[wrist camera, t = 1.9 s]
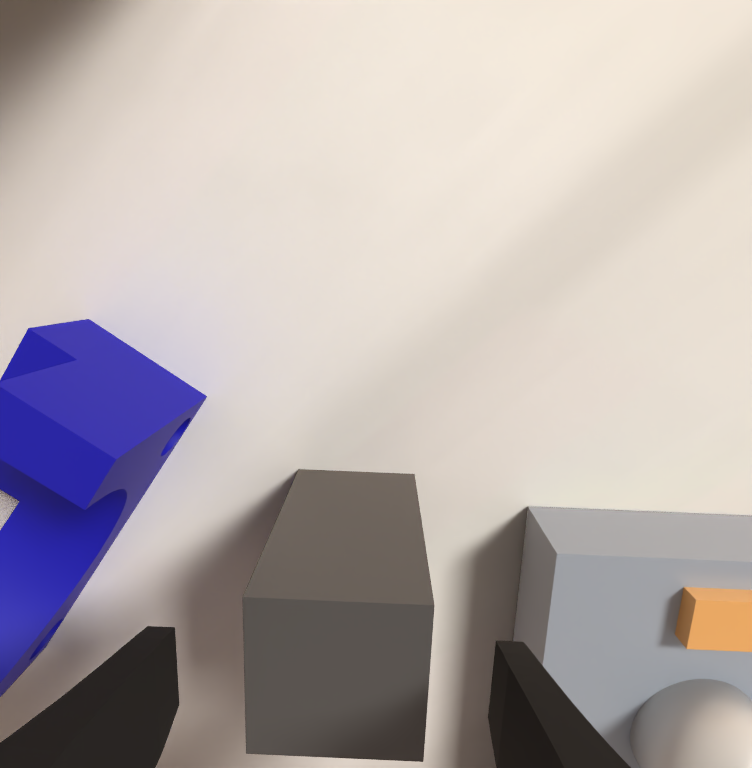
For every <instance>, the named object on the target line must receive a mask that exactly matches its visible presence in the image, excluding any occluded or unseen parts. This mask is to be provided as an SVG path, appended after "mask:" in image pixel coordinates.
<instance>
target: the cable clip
mask: <svg viewBox="0 0 752 768" xmlns="http://www.w3.org/2000/svg"><path fill="white" fill-rule="evenodd" d="M206 397H207V396H205V395H204V394H202V393H201V392H199V391H198V390H196V389H195V388H193V387H192V386H190V385H189V384H187V383H185V382H184V381H182V380H181V379H179V378H178V377H176V376H175V375H173V374H172V373H170V372H169V371H167V370H166V369H164V368H163V367H161V366H159V365H158V364H156V363H155V362H153V361H152V360H150V359H149V358H147V357H146V356H144V355H143V354H141V353H140V352H138V351H137V350H135V349H134V348H132V347H130V346H129V345H127V344H126V343H124V342H123V341H121V340H120V339H118V338H117V337H115V336H114V335H112V334H111V333H109V332H108V331H106V330H104V329H103V328H101V327H100V326H98V325H97V324H95V323H94V322H92V321H91V320H89V319H86V320H80V321H73V322H67V323H60V324H53V325H47V326H40V327H34V328H28V330H27V332H26V334H25V336H24V337H23V339H22V341H21V343H20V345H19V347H18V349H17V350H16V352H15V354H14V356H13V358H12V360H11V361H10V363H9V365H8V367H7V369H6V371H5V372H4V374H3V376H2V378H1V380H0V490H2V491H4V492H5V493H7V494H9V495H10V496H12V497H14V498H15V499H17V500H19V503H18V505H17V506H16V508H15V509H14V511H13V512H12V514H11V516H10V517H9V519H8V520H7V522H6V523H5V524H4V526H3V527H2V529H1V530H0V697H1V696H2V695H3V694H4V693H5V691H6V690H7V689H8V688H9V687H10V686H11V685H12V684H13V683H14V682H15V680H16V679H17V678H18V677H19V676H20V675H21V674H22V673H23V672H24V670H25V669H26V668H27V667H28V666H29V665H30V664H31V663H32V662H33V661H34V659H35V658H36V657H37V656H38V655H39V654H40V653H41V652H42V651H43V650H44V648H45V647H46V646H47V644H48V643H49V641H50V640H51V638H52V636H53V635H54V633H55V632H56V630H57V629H58V627H59V626H60V624H61V622H62V621H63V619H64V618H65V616H66V615H67V613H68V612H69V610H70V609H71V607H72V605H73V604H74V602H75V601H76V599H77V598H78V596H79V595H80V593H81V591H82V590H83V588H84V587H85V585H86V584H87V582H88V581H89V579H90V577H91V576H92V574H93V573H94V571H95V570H96V568H97V567H98V565H99V564H100V562H101V560H102V559H103V557H104V556H105V554H106V553H107V551H108V550H109V548H110V546H111V545H112V543H113V542H114V540H115V539H116V537H117V536H118V534H119V532H120V531H121V529H122V528H123V526H124V525H125V523H126V522H127V520H128V519H129V517H130V515H131V514H132V512H133V511H134V509H135V508H136V506H137V505H138V503H139V501H140V500H141V498H142V497H143V495H144V494H145V492H146V491H147V489H148V487H149V486H150V484H151V483H152V481H153V480H154V478H155V477H156V475H157V473H158V472H159V470H160V469H161V467H162V466H163V464H164V463H165V461H166V460H167V458H168V456H169V455H170V453H171V452H172V450H173V449H174V447H175V446H176V444H177V442H178V441H179V439H180V438H181V436H182V435H183V433H184V432H185V430H186V428H187V427H188V425H189V424H190V422H191V421H192V419H193V418H194V416H195V415H196V413H197V411H198V410H199V408H200V407H201V405H202V404H203V402H204V401H205V399H206Z"/></svg>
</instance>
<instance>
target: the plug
mask: <svg viewBox="0 0 752 768" xmlns="http://www.w3.org/2000/svg"><path fill="white" fill-rule="evenodd" d="M433 617H434V600H433V593H432V587H431V580H430V574H429V567H428V561H427V554H426V547H425V541H424V534H423V528H422V521H421V515H420V508H419V501H418V495H417V488H416V482H415V475H414V474H398V473H374V472H350V471H326V470H302V469H299V470H298V472H297V474H296V476H295V479H294V481H293V483H292V486H291V488H290V490H289V492H288V495H287V497H286V499H285V502H284V504H283V506H282V508H281V511H280V513H279V515H278V518H277V520H276V522H275V524H274V527H273V529H272V531H271V534H270V536H269V538H268V540H267V543H266V545H265V547H264V550H263V552H262V554H261V556H260V559H259V561H258V563H257V566H256V568H255V570H254V572H253V575H252V577H251V579H250V582H249V584H248V586H247V588H246V591H245V593H244V595H243V631H244V676H245V721H246V754H266V755H288V756H310V757H332V758H354V759H376V760H398V761H420V762H423V757H424V743H425V729H426V715H427V701H428V687H429V673H430V659H431V645H432V631H433Z"/></svg>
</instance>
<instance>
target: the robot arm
mask: <svg viewBox="0 0 752 768" xmlns="http://www.w3.org/2000/svg"><path fill="white" fill-rule="evenodd" d="M178 706H179V692H178V675H177V657H176V639H175V627H152V626H148V627H146V628H145V629H144V630H143V631H141V632H140V633H139V634H138V635H136V636H135V637H134V638H133V639H132V640H130V641H129V642H128V643H127V644H126V645H124V646H123V647H122V648H121V649H120V650H118V651H117V652H116V653H115V654H114V655H112V656H111V657H110V658H109V659H108V660H106V661H105V662H104V663H103V664H102V665H100V666H99V667H98V668H97V669H96V670H94V671H93V672H92V673H91V674H89V675H88V676H87V677H86V678H84V679H83V680H82V681H81V682H80V683H78V684H77V685H76V686H75V687H73V688H72V689H71V690H70V691H68V692H67V693H66V694H65V695H63V696H62V697H61V698H60V699H58V700H57V701H56V702H54V703H53V704H52V705H50V706H49V707H48V708H46V709H45V710H44V711H42V712H41V713H40V714H38V715H37V716H36V717H34V718H33V719H32V720H30V721H29V722H28V723H26V724H25V725H24V726H22V727H21V728H20V729H18V730H17V731H16V732H15V733H13V734H12V735H10V736H9V737H8V738H6V739H5V740H3V741H2V742H1V743H0V768H155V767H156V765H157V763H158V760H159V758H160V756H161V754H162V751H163V748H164V746H165V743H166V740H167V738H168V735H169V732H170V729H171V726H172V724H173V721H174V718H175V715H176V712H177V709H178ZM488 719H489V725H490V731H491V738H492V744H493V750H494V755H495V761H496V766H497V768H631V767H630V766H629V765H628V764H627V763H626V762H625V761H624V760H623V759H622V758H621V757H620V755H619V754H618V753H617V752H616V751H615V750H614V749H613V748H612V747H611V746H610V745H609V744H608V743H607V741H606V740H605V739H604V738H603V737H602V736H601V735H600V734H599V733H598V731H597V730H596V729H595V728H594V727H593V726H592V725H591V723H590V722H589V721H588V720H587V719H586V718H585V716H584V715H583V714H582V713H581V712H580V711H579V709H578V708H577V707H576V706H575V705H574V704H573V702H572V701H571V700H570V699H569V698H568V696H567V695H566V694H565V693H564V692H563V690H562V689H561V688H560V687H559V685H558V684H557V683H556V682H555V680H554V679H553V678H552V677H551V675H550V674H549V673H548V672H547V670H546V669H545V668H544V667H543V665H542V664H541V663H540V662H539V660H538V659H537V658H536V656H535V655H534V654H533V653H532V651H531V650H530V649H529V648H528V646H527V645H526V644H525V643H524V642H518V641H496V647H495V656H494V666H493V676H492V685H491V695H490V705H489V714H488Z"/></svg>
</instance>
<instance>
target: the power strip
mask: <svg viewBox="0 0 752 768" xmlns="http://www.w3.org/2000/svg"><path fill="white" fill-rule="evenodd" d="M513 641H518V642H524V643H525V644H526V645H527V646H528V648H529V649H530V650H531V651H532V653H533V654H534V655H535V656H536V658H537V659H538V660H539V662H540V663H541V664H542V665H543V667H544V668H545V669H546V670H547V672H548V673H549V674H550V675H551V677H552V678H553V679H554V680H555V682H556V683H557V684H558V685H559V687H560V688H561V689H562V690H563V692H564V693H565V694H566V695H567V696H568V698H569V699H570V700H571V701H572V702H573V704H574V705H575V706H576V707H577V708H578V709H579V711H580V712H581V713H582V714H583V715H584V716H585V718H586V719H587V720H588V721H589V722H590V723H591V725H592V726H593V727H594V728H595V729H596V730H597V731H598V733H599V734H600V735H601V736H602V737H603V738H604V739H605V740H606V741H607V743H608V744H609V745H610V746H611V747H612V748H613V749H614V750H615V751H616V752H617V753H618V754H619V755H620V757H621V758H622V759H623V760H624V761H625V762H626V763H627V764H628V765H629V766H630V767H631V768H752V516H744V515H720V514H696V513H672V512H648V511H624V510H600V509H577V508H553V507H529V506H528V510H527V519H526V528H525V537H524V546H523V555H522V564H521V573H520V582H519V591H518V600H517V609H516V618H515V627H514V636H513Z"/></svg>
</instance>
